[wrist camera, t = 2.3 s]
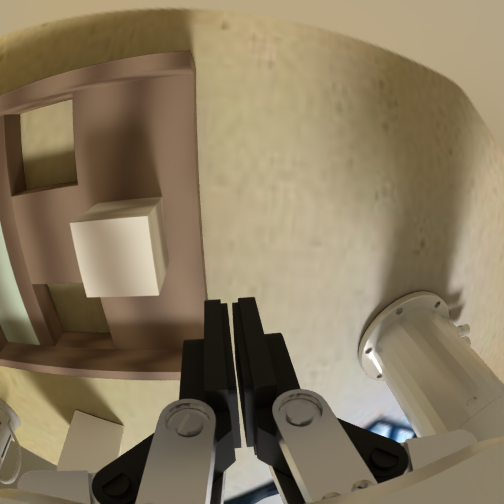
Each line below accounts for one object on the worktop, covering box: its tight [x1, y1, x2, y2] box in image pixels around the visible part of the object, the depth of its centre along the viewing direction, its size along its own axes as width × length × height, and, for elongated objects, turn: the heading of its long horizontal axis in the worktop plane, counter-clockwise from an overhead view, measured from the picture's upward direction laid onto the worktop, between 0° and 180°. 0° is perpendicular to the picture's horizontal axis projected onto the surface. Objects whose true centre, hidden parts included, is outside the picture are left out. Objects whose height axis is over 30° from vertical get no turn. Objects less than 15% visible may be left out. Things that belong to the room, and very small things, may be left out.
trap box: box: [0, 50, 208, 380], centre depth 21 cm, size 24×24×6 cm
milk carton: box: [56, 410, 124, 473], centre depth 25 cm, size 7×7×19 cm
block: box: [70, 197, 169, 297], centre depth 19 cm, size 5×5×5 cm
